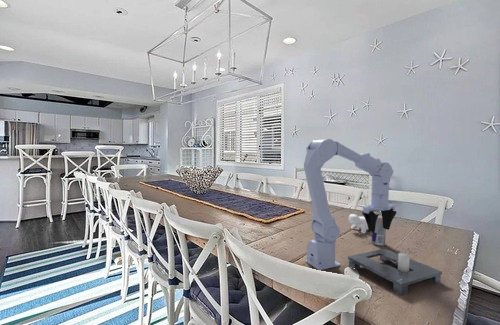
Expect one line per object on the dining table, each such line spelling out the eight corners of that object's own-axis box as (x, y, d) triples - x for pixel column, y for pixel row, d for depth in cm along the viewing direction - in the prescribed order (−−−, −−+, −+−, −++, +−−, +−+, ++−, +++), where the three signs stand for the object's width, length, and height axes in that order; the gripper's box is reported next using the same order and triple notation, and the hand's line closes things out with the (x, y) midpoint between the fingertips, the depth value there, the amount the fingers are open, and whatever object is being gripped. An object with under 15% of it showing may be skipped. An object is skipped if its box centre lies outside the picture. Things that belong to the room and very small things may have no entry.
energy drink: (373, 240, 115) (373, 214, 114) (386, 243, 112) (387, 216, 111) (369, 244, 111) (370, 216, 110) (383, 247, 107) (384, 218, 107)
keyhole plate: (401, 296, 72) (402, 284, 71) (347, 266, 90) (348, 256, 90) (441, 282, 79) (442, 271, 79) (384, 257, 97) (384, 248, 97)
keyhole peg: (405, 285, 77) (406, 259, 77) (390, 277, 82) (391, 252, 82) (416, 281, 79) (417, 256, 79) (401, 274, 84) (401, 250, 84)
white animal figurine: (362, 232, 135) (341, 225, 130) (367, 217, 136) (346, 209, 131) (375, 238, 127) (353, 230, 122) (380, 221, 128) (359, 213, 123)
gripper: (374, 197, 89) (373, 236, 90) (403, 194, 95) (402, 230, 96) (358, 194, 96) (358, 230, 97) (386, 191, 102) (385, 225, 102)
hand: (378, 230), depth 97 cm, fingers open, 7 cm apart
